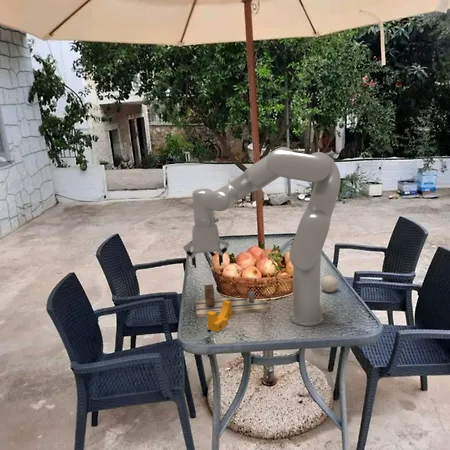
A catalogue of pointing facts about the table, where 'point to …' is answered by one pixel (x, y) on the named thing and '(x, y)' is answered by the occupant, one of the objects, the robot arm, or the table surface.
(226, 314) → the pipe clamp
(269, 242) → the table surface
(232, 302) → the board
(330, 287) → the baseball
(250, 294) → the fixed leg
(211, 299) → the block
